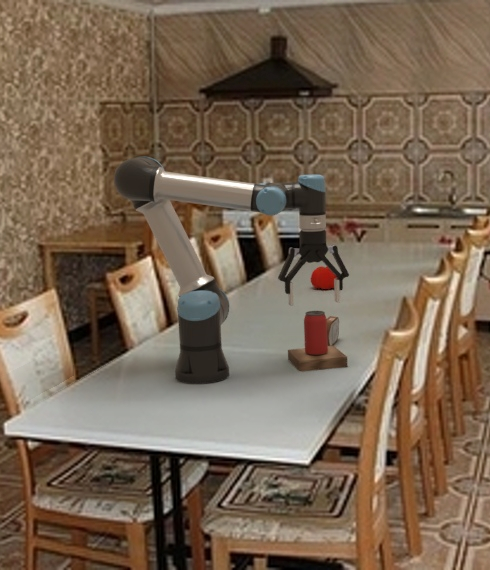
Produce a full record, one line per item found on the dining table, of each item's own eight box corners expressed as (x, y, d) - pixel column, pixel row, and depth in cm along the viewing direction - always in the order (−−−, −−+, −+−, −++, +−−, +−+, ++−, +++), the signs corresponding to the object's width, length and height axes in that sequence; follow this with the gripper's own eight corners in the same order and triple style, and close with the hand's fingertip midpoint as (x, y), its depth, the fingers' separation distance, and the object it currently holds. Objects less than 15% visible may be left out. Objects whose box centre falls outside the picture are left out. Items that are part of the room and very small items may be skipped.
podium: (299, 371, 269) (299, 361, 268) (288, 359, 282) (287, 349, 282) (347, 366, 271) (347, 356, 271) (333, 355, 285) (333, 345, 284)
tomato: (311, 286, 400) (311, 265, 399) (340, 286, 398) (339, 264, 397) (309, 291, 390) (309, 269, 388) (339, 291, 388) (338, 269, 386)
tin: (331, 338, 306) (330, 313, 305) (341, 339, 305) (340, 313, 304) (320, 350, 292) (319, 323, 291) (330, 350, 291) (329, 323, 290)
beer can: (332, 352, 276) (331, 311, 274) (318, 357, 271) (316, 315, 269) (314, 349, 281) (313, 309, 279) (300, 354, 276) (298, 313, 274)
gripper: (272, 233, 264) (274, 308, 268) (359, 228, 268) (360, 302, 272) (266, 230, 271) (268, 303, 275) (351, 225, 276) (352, 298, 279)
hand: (314, 303), depth 274 cm, fingers open, 13 cm apart
